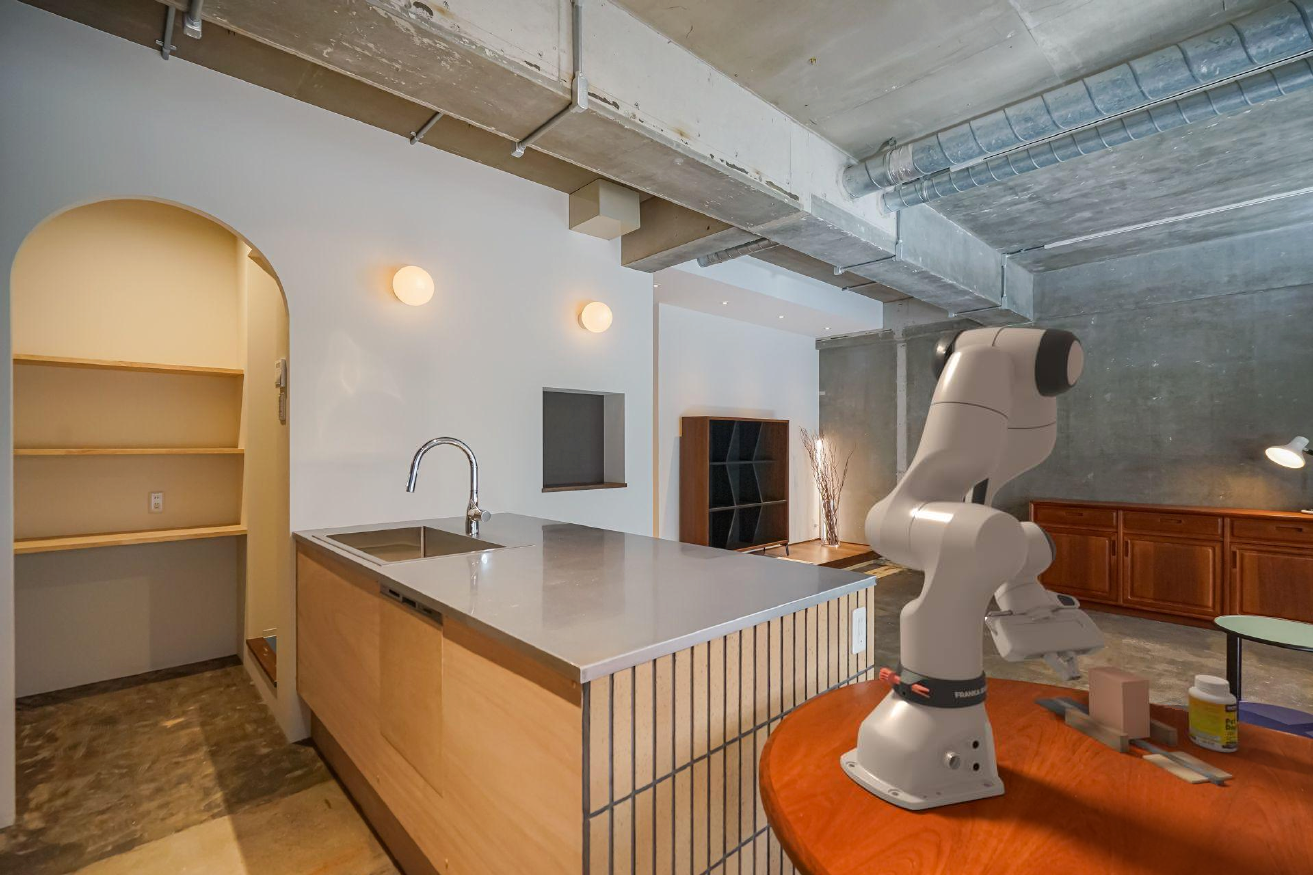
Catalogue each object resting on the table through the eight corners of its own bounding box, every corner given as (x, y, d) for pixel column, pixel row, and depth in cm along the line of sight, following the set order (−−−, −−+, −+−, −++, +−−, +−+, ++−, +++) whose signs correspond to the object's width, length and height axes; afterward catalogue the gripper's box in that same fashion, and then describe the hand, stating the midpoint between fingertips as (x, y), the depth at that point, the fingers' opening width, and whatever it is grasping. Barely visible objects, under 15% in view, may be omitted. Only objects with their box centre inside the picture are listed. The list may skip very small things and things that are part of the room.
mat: (1142, 757, 91) (1142, 755, 91) (1181, 752, 92) (1181, 751, 92) (1191, 783, 84) (1191, 780, 84) (1232, 777, 85) (1232, 775, 85)
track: (1028, 703, 110) (1027, 689, 110) (1077, 698, 112) (1077, 685, 112) (1189, 788, 82) (1188, 770, 82) (1251, 780, 84) (1250, 762, 84)
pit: (1034, 701, 111) (1034, 699, 111) (1066, 698, 112) (1066, 696, 112) (1066, 718, 104) (1066, 716, 104) (1101, 714, 105) (1101, 712, 105)
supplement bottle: (1231, 757, 90) (1230, 688, 91) (1184, 742, 95) (1182, 677, 95) (1243, 747, 93) (1241, 680, 94) (1196, 733, 98) (1194, 669, 98)
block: (1089, 722, 101) (1088, 668, 101) (1114, 720, 101) (1113, 666, 102) (1123, 739, 95) (1122, 682, 95) (1150, 736, 96) (1148, 679, 96)
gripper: (989, 603, 112) (1032, 676, 102) (1083, 597, 116) (1133, 666, 106) (973, 621, 117) (1012, 692, 107) (1064, 614, 120) (1110, 682, 110)
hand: (1073, 679), depth 106 cm, fingers closed
